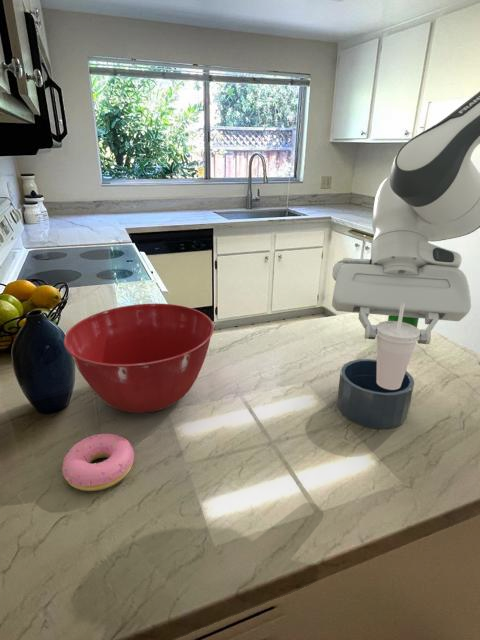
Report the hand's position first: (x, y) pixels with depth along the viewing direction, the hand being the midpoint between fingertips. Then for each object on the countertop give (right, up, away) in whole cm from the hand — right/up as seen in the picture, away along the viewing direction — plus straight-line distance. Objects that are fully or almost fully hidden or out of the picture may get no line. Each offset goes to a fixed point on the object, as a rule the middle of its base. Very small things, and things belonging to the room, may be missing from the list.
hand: (397, 340), depth 61 cm
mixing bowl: (-43, -13, +24) cm, 51 cm away
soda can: (+20, -3, +50) cm, 54 cm away
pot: (+3, -15, +20) cm, 25 cm away
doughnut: (-46, -21, +4) cm, 51 cm away
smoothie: (0, -7, +4) cm, 8 cm away
